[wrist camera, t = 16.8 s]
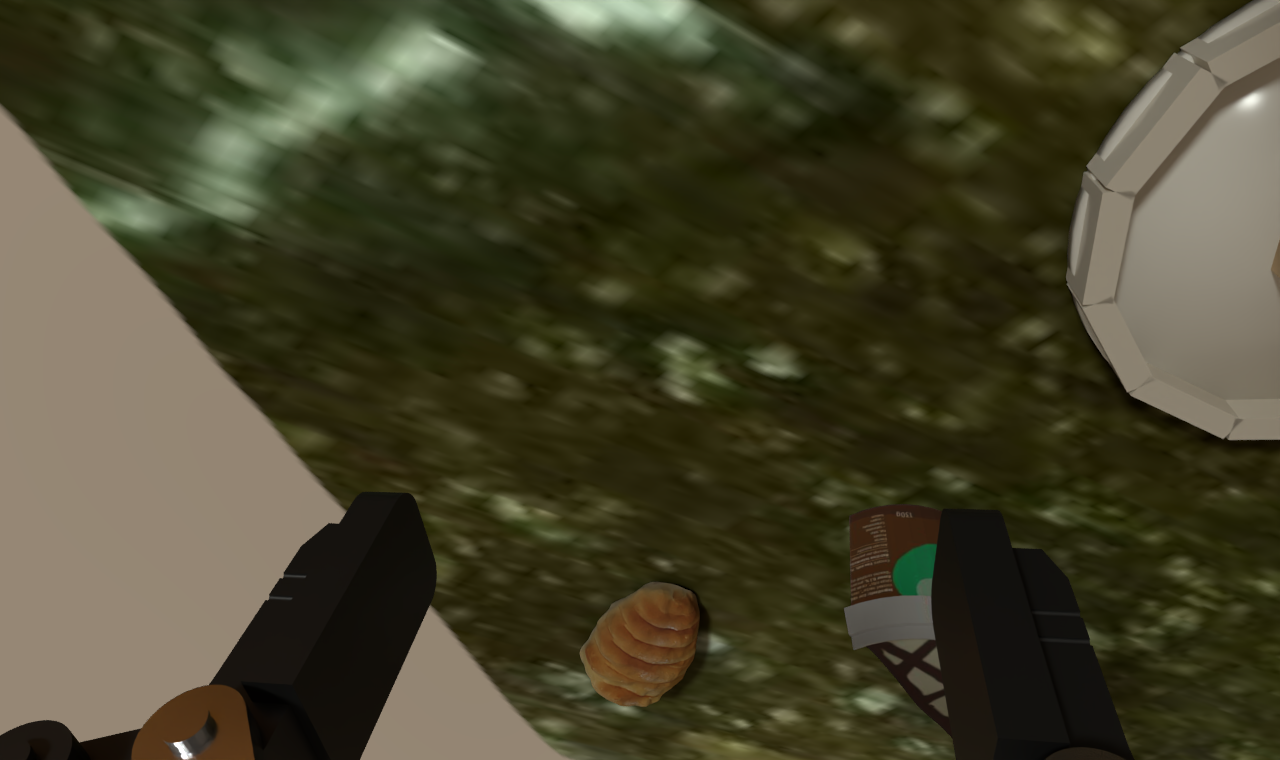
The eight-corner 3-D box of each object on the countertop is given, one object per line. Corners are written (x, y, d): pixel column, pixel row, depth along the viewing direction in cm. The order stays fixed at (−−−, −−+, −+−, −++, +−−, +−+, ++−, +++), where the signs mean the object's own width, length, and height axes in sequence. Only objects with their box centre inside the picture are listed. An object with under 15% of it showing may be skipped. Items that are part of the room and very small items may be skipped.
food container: (1045, 592, 48) (1101, 749, 40) (947, 629, 51) (980, 784, 43) (935, 449, 44) (972, 592, 36) (834, 498, 47) (846, 642, 38)
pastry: (628, 556, 52) (619, 604, 48) (728, 595, 52) (725, 644, 49) (578, 645, 57) (567, 693, 54) (670, 678, 58) (664, 728, 54)
